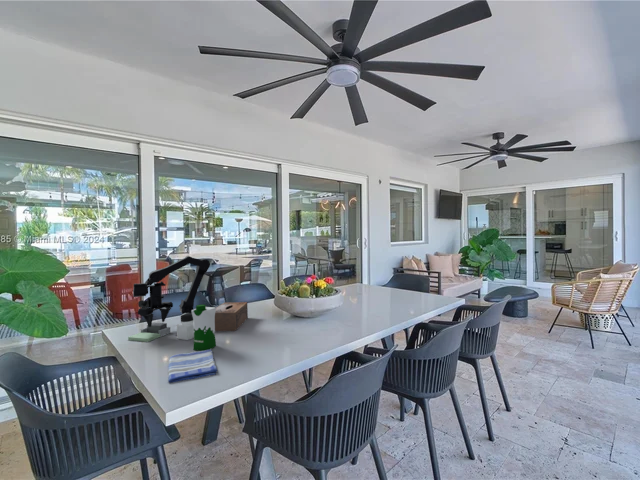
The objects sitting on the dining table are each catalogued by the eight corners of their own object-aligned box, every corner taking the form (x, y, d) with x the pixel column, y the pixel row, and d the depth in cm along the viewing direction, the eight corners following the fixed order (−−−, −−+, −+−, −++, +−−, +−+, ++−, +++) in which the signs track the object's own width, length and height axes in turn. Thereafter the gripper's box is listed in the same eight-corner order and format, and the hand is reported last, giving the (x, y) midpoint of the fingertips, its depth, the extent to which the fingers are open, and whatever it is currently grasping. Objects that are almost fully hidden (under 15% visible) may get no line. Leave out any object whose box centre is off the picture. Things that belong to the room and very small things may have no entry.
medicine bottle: (198, 336, 164) (197, 312, 163) (187, 340, 157) (186, 316, 157) (188, 334, 167) (187, 311, 166) (176, 338, 160) (176, 315, 160)
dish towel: (212, 354, 140) (212, 347, 140) (218, 375, 119) (218, 368, 119) (169, 361, 133) (169, 354, 133) (166, 385, 112) (166, 377, 112)
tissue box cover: (224, 318, 198) (224, 302, 198) (247, 318, 197) (247, 302, 197) (209, 331, 172) (208, 313, 172) (235, 331, 172) (235, 312, 172)
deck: (170, 332, 171) (170, 326, 171) (148, 341, 156) (148, 335, 156) (151, 331, 174) (151, 325, 174) (127, 340, 160) (127, 334, 160)
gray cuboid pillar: (167, 332, 171) (166, 323, 171) (160, 335, 167) (159, 325, 167) (154, 331, 174) (154, 322, 173) (147, 334, 169) (147, 325, 169)
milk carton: (190, 350, 144) (189, 305, 143) (203, 343, 152) (202, 301, 152) (206, 352, 141) (205, 307, 140) (219, 345, 149) (218, 302, 149)
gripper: (156, 291, 181) (157, 318, 181) (128, 297, 163) (129, 328, 163) (173, 291, 178) (174, 319, 178) (146, 298, 160) (147, 329, 160)
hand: (156, 324), depth 170 cm, fingers open, 9 cm apart
